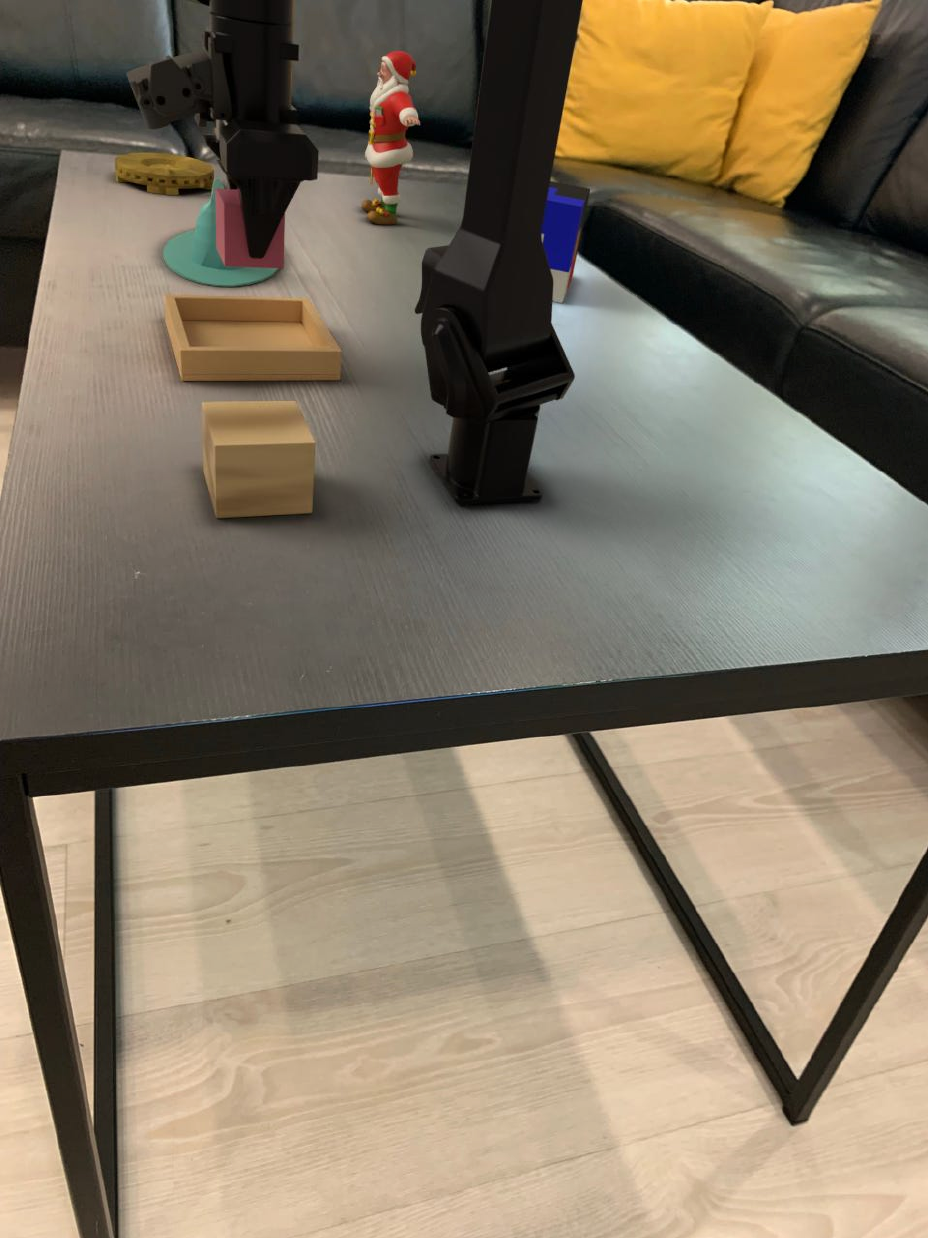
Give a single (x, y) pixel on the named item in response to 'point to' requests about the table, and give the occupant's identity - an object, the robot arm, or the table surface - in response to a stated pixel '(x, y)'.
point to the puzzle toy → (563, 232)
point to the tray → (250, 339)
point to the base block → (257, 458)
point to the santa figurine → (389, 134)
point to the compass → (164, 172)
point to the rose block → (242, 235)
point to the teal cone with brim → (208, 254)
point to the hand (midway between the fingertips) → (251, 248)
